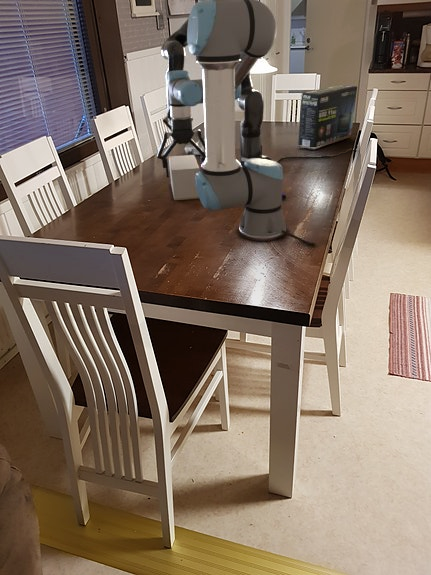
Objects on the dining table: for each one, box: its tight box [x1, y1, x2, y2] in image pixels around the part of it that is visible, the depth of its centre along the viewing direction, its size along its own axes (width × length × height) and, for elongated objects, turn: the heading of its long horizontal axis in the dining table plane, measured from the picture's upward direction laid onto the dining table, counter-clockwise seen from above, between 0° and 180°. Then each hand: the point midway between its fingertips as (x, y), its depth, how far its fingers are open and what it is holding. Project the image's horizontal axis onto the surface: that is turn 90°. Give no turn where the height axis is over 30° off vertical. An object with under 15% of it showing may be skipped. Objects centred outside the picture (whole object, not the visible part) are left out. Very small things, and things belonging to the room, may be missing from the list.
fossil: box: [184, 137, 206, 156], centre depth 236 cm, size 18×11×15 cm
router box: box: [297, 84, 358, 151], centre depth 238 cm, size 36×11×27 cm, turn 134°
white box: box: [168, 154, 201, 201], centre depth 184 cm, size 20×10×12 cm, turn 8°
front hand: (185, 174), depth 178 cm, fingers open, 13 cm apart
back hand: (179, 141), depth 191 cm, fingers closed
